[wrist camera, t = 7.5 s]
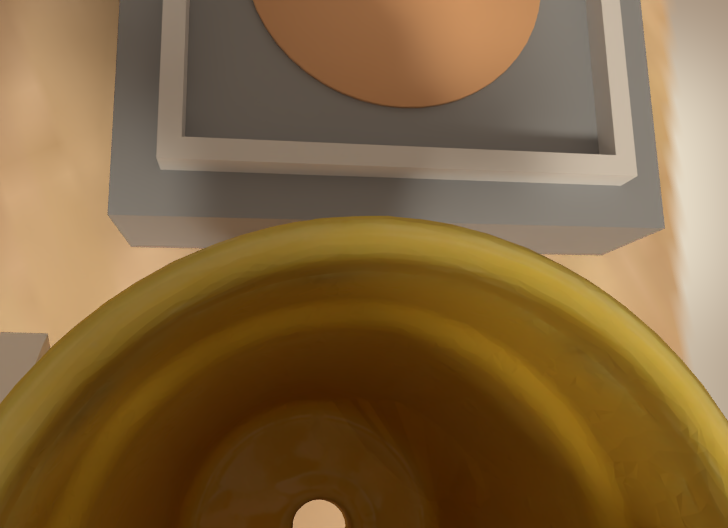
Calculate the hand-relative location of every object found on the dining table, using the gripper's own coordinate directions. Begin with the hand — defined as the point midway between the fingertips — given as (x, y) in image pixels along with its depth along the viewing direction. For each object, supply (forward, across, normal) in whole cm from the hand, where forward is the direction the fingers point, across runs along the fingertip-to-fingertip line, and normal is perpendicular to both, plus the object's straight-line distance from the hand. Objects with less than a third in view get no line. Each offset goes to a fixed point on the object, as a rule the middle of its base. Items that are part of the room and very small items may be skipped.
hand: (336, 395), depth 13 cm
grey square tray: (+23, +4, +1) cm, 23 cm away
